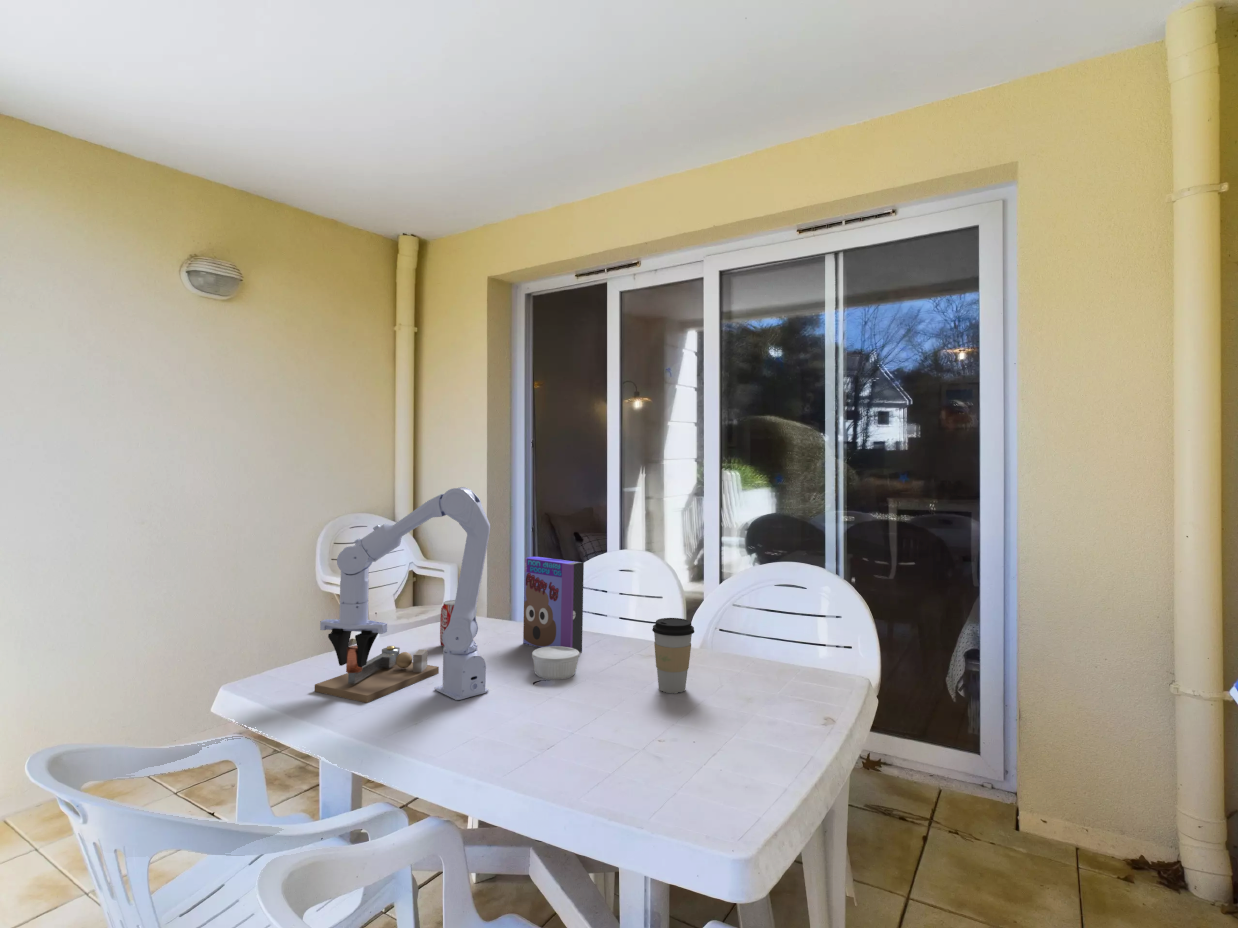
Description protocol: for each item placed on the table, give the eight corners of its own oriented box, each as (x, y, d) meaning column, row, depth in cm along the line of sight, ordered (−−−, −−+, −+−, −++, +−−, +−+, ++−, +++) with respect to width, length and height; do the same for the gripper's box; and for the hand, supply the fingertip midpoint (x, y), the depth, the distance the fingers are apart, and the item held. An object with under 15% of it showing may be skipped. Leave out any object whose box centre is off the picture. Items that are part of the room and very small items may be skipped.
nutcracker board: (389, 664, 158) (390, 641, 158) (438, 673, 152) (439, 649, 152) (314, 691, 138) (315, 665, 138) (367, 702, 132) (367, 675, 132)
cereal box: (523, 643, 179) (524, 557, 179) (535, 640, 183) (537, 555, 183) (570, 655, 169) (571, 563, 169) (582, 651, 172) (583, 561, 173)
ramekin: (582, 668, 158) (582, 646, 158) (574, 682, 147) (575, 659, 147) (537, 665, 159) (538, 644, 159) (526, 680, 148) (527, 657, 148)
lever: (386, 658, 156) (387, 627, 156) (404, 660, 156) (405, 628, 156) (341, 685, 137) (341, 648, 137) (361, 686, 136) (361, 649, 136)
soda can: (462, 650, 172) (463, 604, 172) (436, 649, 172) (437, 604, 172) (469, 643, 179) (470, 599, 179) (444, 642, 179) (445, 599, 179)
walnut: (403, 664, 152) (403, 649, 152) (415, 666, 150) (415, 651, 150) (392, 668, 149) (392, 653, 149) (404, 670, 147) (404, 655, 147)
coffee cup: (644, 691, 142) (645, 623, 142) (661, 679, 150) (662, 615, 150) (684, 699, 137) (685, 628, 137) (699, 686, 146) (700, 620, 146)
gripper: (394, 599, 141) (393, 661, 141) (334, 596, 144) (333, 657, 143) (377, 606, 134) (376, 671, 134) (314, 602, 137) (313, 666, 136)
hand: (352, 664), depth 138 cm, fingers open, 4 cm apart
